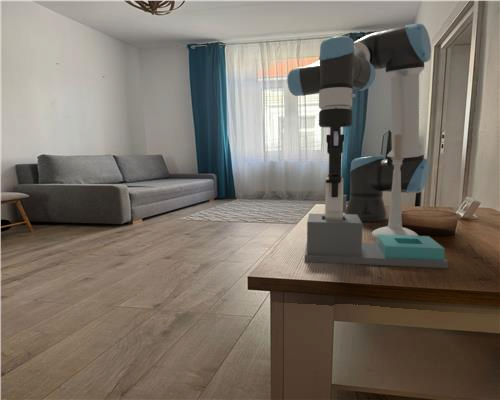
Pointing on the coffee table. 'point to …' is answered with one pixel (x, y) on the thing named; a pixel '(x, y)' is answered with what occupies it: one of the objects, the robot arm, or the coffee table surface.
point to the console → (367, 245)
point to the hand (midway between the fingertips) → (333, 209)
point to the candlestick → (395, 198)
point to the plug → (339, 214)
